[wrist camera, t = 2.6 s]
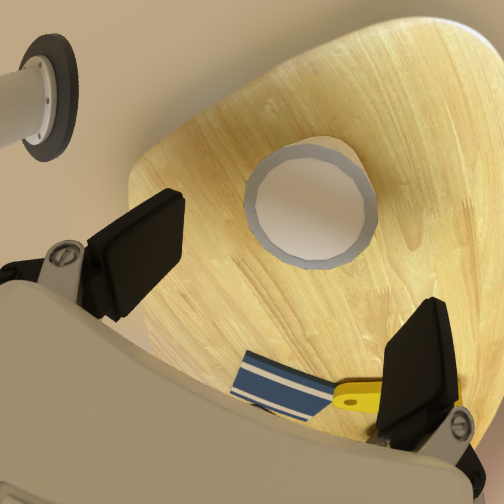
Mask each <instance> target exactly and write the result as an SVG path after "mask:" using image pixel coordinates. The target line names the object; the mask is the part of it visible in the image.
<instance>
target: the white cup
mask: <svg viewBox="0 0 504 504" xmlns="http://www.w3.org/2000/svg"><path fill="white" fill-rule="evenodd" d="M243 206H244V210H245V213H246V217H247V221H248V224H249V228H250V230H251V231H252V232H253V234H254V235H255V237H256V238H257V239H258V241H259V242H260V244H261V245H262V246H263V248H264V249H266V250H267V251H268V252H270V253H271V254H273V255H274V256H275V257H277V258H278V259H279V260H281V261H282V262H284V263H287V264H290V265H293V266H297V267H300V268H303V269H306V270H318V269H332V268H335V267H337V266H340V265H343V264H345V263H348V262H351V261H352V260H353V259H354V258H356V257H357V256H358V255H359V254H360V253H361V252H362V251H363V250H364V249H365V248H366V247H367V246H368V245H369V243H370V241H371V239H372V236H373V234H374V231H375V229H376V226H377V224H378V211H377V196H376V193H375V191H374V189H373V187H372V184H371V182H370V180H369V178H368V175H367V173H366V171H365V169H364V167H363V165H362V163H361V161H360V159H359V157H358V156H357V154H356V152H355V151H354V149H352V148H351V147H350V146H349V145H347V144H346V143H345V142H343V141H342V140H340V139H337V138H333V137H330V136H326V135H325V136H317V137H310V138H307V139H304V140H301V141H298V142H295V143H292V144H290V145H287V146H284V147H282V148H280V149H278V150H277V151H275V152H274V153H272V154H270V155H269V156H267V157H266V158H264V159H263V160H261V161H260V162H259V163H258V165H257V166H256V168H255V169H254V171H253V173H252V174H251V176H250V177H249V179H248V181H247V182H246V189H245V197H244V205H243Z"/></svg>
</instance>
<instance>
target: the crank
mask: <svg viewBox="0 0 504 504" xmlns="http://www.w3.org/2000/svg"><path fill="white" fill-rule="evenodd" d="M381 386H382V381H379V382H354V383H344V384H341V385H338V386H337V387H336V388H335V389H334V394H333V399H332V403H333V405H334V406H335V407H337V408H340V409H344V410H351V411H359V412H369V413H378V410H379V402H380V395H381ZM458 390H459V400H457V401H456V402H455V403H454V407H457V406H463V404H462V395H461V387H460V381H459V379H458Z"/></svg>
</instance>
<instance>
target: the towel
mask: <svg viewBox="0 0 504 504" xmlns="http://www.w3.org/2000/svg"><path fill="white" fill-rule="evenodd" d="M337 386H338V385H337V384H334V383H331V382H328V381H325V380H322V379H319V378H316V377H314V376H311V375H308V374H305V373H302V372H300V371H297V370H294V369H292V368H289V367H286V366H284V365H281V364H279V363H276V362H274V361H271V360H269V359H266V358H264V357H261V356H259V355H257V354H254V353H252V352H250V351H247V352H246V354H245V356H244V359H243V361H242V364H241V366H240V369H239V371H238V374H237V376H236V379H235V381H234V384H233V386H232V389H231V391H230V393H231V394H233V395H235V396H238V397H240V398H242V399H245V400H247V401H250V402H252V403H255V404H257V405H260V406H262V407H265V408H268V409H270V410H273V411H276V412H278V413H281V414H284V415H287V416H290V417H293V418H296V419H299V420H302V421H305V422H306V421H307V420H310V419H311V418H312V417H313V416H314V415H316V414H317V413H318V412H320V411H321V410H322V409H323V408H325V407H326V406H327V405H329V404H330V403H331V402H332V399H333V394H334V389H335V388H336V387H337Z"/></svg>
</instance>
